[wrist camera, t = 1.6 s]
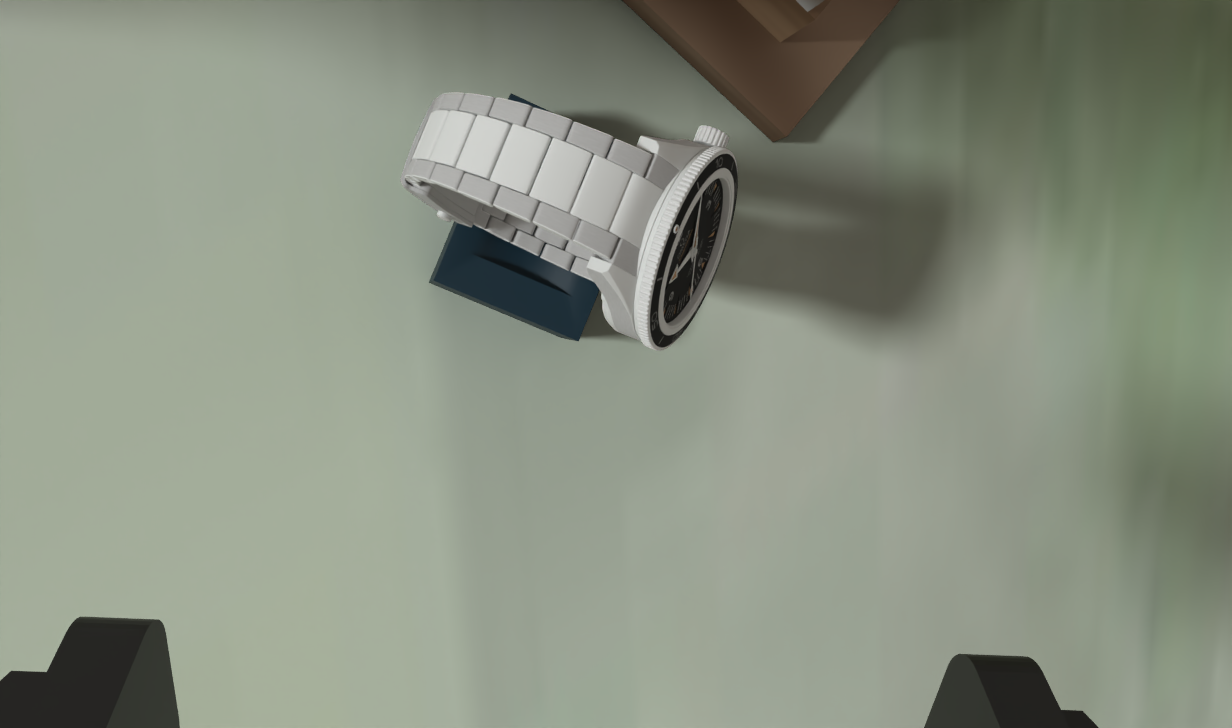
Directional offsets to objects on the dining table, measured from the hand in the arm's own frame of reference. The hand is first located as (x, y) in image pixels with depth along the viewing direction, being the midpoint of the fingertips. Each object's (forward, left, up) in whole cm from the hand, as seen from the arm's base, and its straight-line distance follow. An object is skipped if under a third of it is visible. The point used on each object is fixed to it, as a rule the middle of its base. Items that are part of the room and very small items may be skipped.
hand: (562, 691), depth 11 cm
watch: (+7, +2, -23) cm, 24 cm away
